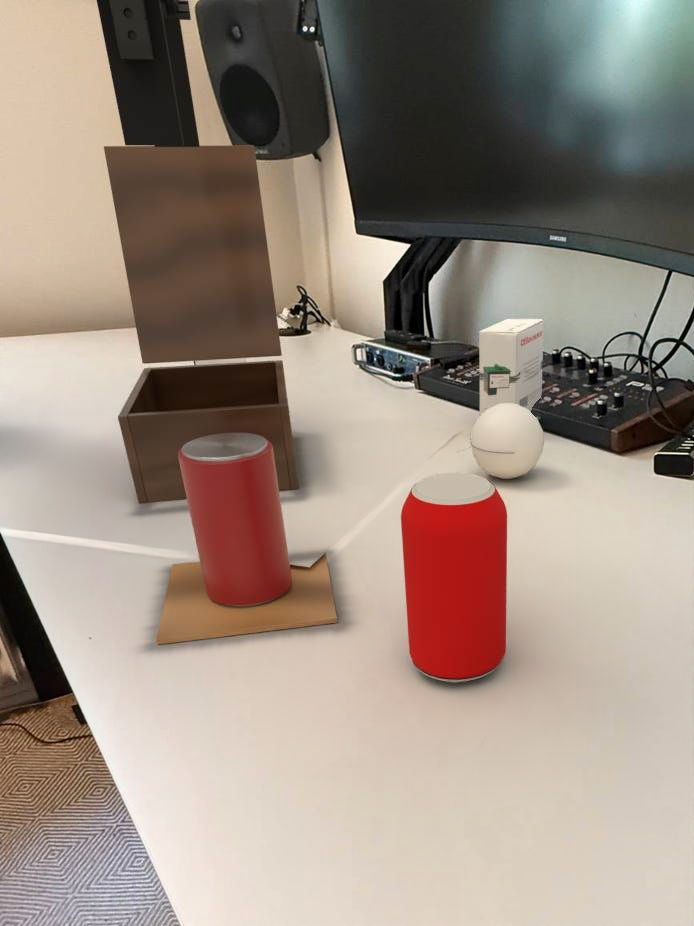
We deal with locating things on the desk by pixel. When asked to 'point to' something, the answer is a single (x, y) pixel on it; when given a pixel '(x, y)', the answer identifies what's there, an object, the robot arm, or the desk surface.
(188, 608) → the mat
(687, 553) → the desk surface
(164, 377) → the chest
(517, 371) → the ink box
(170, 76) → the robot arm
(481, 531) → the beverage can
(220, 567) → the can
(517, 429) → the white ball
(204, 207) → the lid
